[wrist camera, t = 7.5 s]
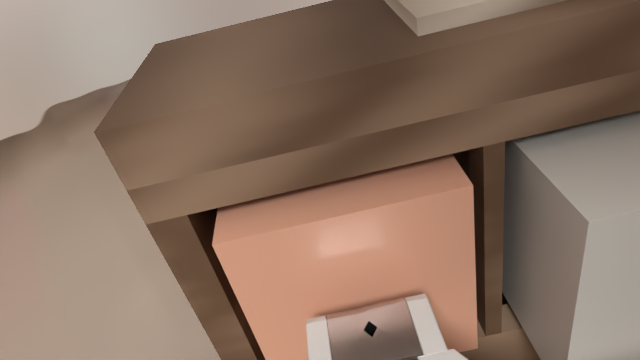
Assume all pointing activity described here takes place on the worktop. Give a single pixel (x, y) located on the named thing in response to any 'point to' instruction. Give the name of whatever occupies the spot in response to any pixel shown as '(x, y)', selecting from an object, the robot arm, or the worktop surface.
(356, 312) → the robot arm
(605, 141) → the key middle
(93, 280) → the worktop surface
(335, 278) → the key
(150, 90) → the keypad console
